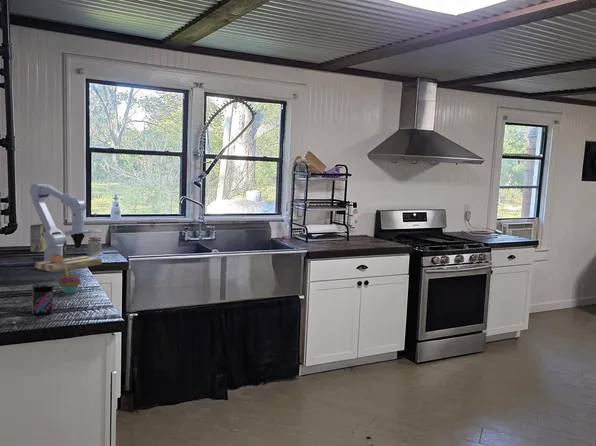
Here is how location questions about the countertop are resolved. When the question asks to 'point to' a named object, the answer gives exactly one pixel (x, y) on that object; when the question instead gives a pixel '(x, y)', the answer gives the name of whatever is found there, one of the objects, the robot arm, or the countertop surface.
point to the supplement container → (42, 299)
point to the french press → (92, 243)
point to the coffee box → (37, 238)
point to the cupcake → (69, 282)
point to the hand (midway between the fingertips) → (77, 247)
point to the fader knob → (56, 258)
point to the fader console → (68, 263)
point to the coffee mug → (64, 249)
